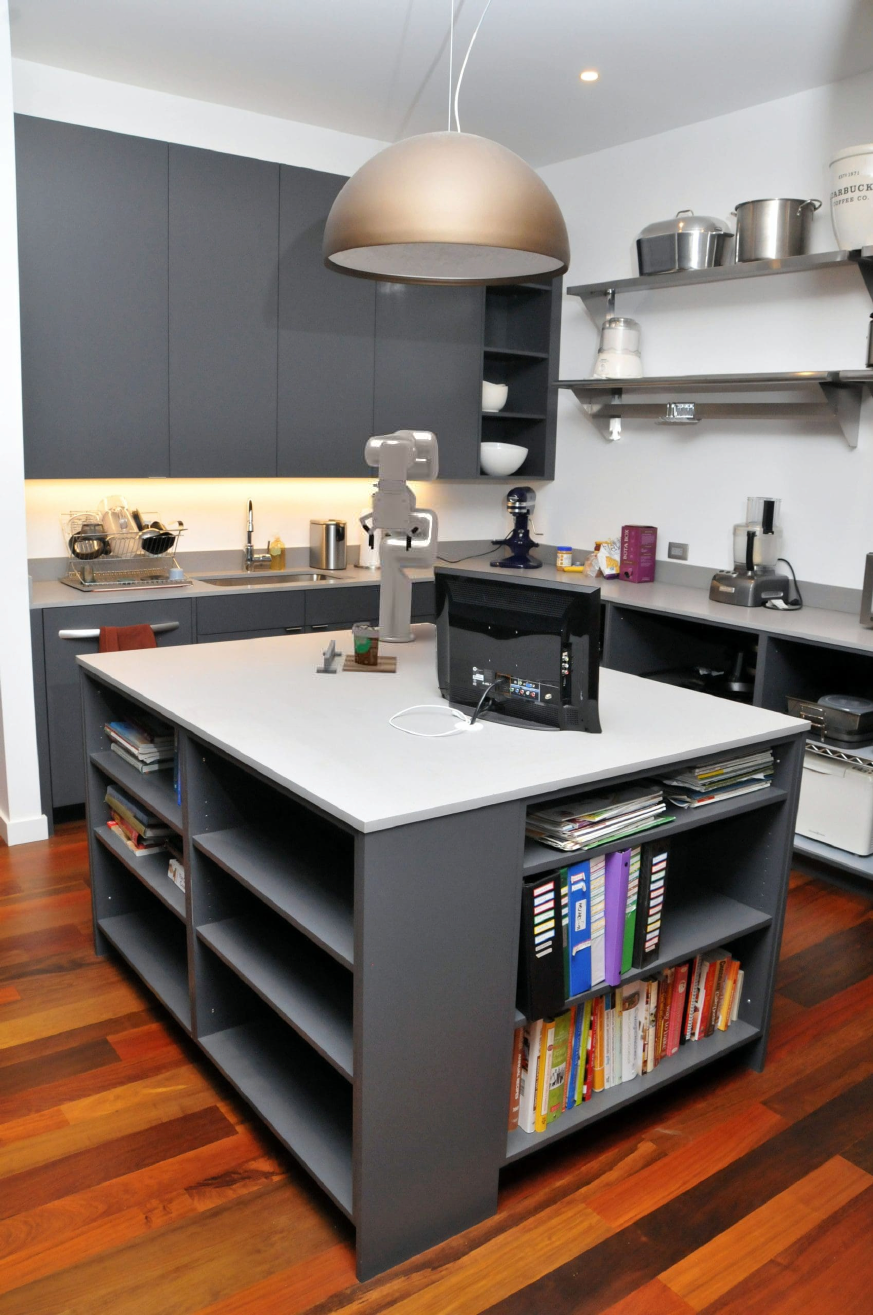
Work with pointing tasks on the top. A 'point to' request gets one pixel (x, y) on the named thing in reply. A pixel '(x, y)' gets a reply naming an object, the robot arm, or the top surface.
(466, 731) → the top surface
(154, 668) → the top surface
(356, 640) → the food container
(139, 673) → the top surface
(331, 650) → the grey footed rail
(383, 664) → the walnut board
